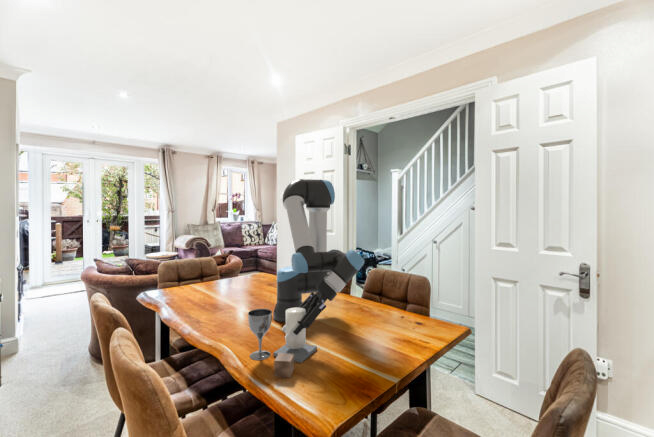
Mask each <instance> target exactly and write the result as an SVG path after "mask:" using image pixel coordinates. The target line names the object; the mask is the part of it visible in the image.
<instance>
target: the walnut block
mask: <svg viewBox="0 0 654 437" xmlns="http://www.w3.org/2000/svg"><path fill="white" fill-rule="evenodd" d="M273 362H274V363H273V365H274V366H273V375H274V376H273V377H274V378H285V377H288V378H289V379H290V378H291V377H292V376H291V375H293V373H294V371H295V361H294V354H287V353H278V355H277V357H275V359H274V361H273Z"/></svg>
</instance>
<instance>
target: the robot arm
mask: <svg viewBox="0 0 654 437" xmlns="http://www.w3.org/2000/svg"><path fill="white" fill-rule="evenodd" d="M335 198H336V193H335V188H334V186H333V183H332V182H331V181H330V180H327V179H307V178H306V179H305V178H298V179H296V180H293V181H291V182H289V183H288V185H287V186H286V188H285V189H284V190H283V194H282V205H283V208H284V209H285V210H286V212H287V218H288V223H289V228H290V232H291V237H292V238H291V239H292V242H293V247H294V251H295V252H294V253H293V254H292V255H291V260H290V263H291V265H289V266H285V267H282V268H280V269H279V270H278V271H277V274H276V280H275V281H276V303H275V306H274V310H273V312H272V315H273V316H272V317H273V318H272V319H274V320H275V321H276V322H281V323H285V324H284V325H283V327H282V328H281V331H283V332H284V333H285V336H284V339H285V341H286V340H287V341H289V342H290V343H291V342H292V341H293V340H294V339H295V337H296V336H297V335H298V334H299V333H300V332H301V331H302V330H303V329H304V328H306V329H307V330H308V329H309V328H310V327H311V326H312V324H313V323H314V322H315V320H317V318H318V317H319V315H320V314H322V312H323V311H324V310H326V308H327V305H326V302H327V300H328V301H329V302H331V301H333V300H334V299H335V297H337V296H338V293H340V292H341V291H342V290H343V289H344V287H346V285H347V284H348V283H349V282H350V281H351V280H352V279H353V277H354V276H355V275H356V274H358V272H359V271H360V270H361V269H362V267H363V266H364V264H365V259H364V258H363V257H362V256H361V254H359V253H358V252H357V251H356V250H354V249H352V248H351V249H349V250H348V251H346V252H343V251H341V250H339V249H335V248H334V249H331V250H329V251H327V246H328V245H327V243H328V242H327V241H328V240H327V239H328V236H327V234H328V231H327V230H328V229H327V228H328V212H329V210H330V209H331V205H334V203H335ZM304 206H305V207H304ZM305 209H306V210H307V211H308V218H307V216H306V211H305ZM304 294H309V296H308V297H306V299H304V300H303V298H302V297H303V295H304ZM289 308H304V309H305V310H306V314H305V315H304V317H303V318H302V320H301V321H298V323H297V324H296V325H295V326H294V327H293V328H292V329H291V331H290V332H289V333H288V334H287V335H286V310H287V309H289Z"/></svg>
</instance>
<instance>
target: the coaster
mask: <svg viewBox="0 0 654 437" xmlns="http://www.w3.org/2000/svg"><path fill="white" fill-rule="evenodd" d="M317 350H318V348H317V345H313V344H308V343H306V345H305V346H304V347H302V348H299V349H291V348H288V347H286V343H285V344H284V345H283V346H281V347H280V348H278V349H277V350H276V351H273V357H275V358H276V357H277V355H278V353H287V354H294V363H299V364H302V363H303V362H304V361H305V360H306V359H308V358H309V357H310V356H311V355H312V354H313V353H315V351H317Z"/></svg>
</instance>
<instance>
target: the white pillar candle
mask: <svg viewBox="0 0 654 437" xmlns="http://www.w3.org/2000/svg"><path fill="white" fill-rule="evenodd" d="M305 314H306V310H305V309H304V308H289V309H287V310H286V322H285V324H286V333H285V336H286V335H287V334H288V333H289V332H290V331H291V329H292V328H293V327H294V326H295V325H296V324H297V323H298V321H301V320H302V318H303V317H304V315H305ZM306 333H307V331H306V328H304V329H303V330H302V331H301V332H300V333H299V334H298V335H297V336H296V337H295V339H294V340H293V341H292V342H291V343H290V342H289V341H287V340H286V339H285V344H286V347H288V348H291V349H299V348H302V347H304V346H305V345H306V344H307V342H306V341H307V340H306V338H307V336H306V335H307V334H306Z"/></svg>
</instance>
